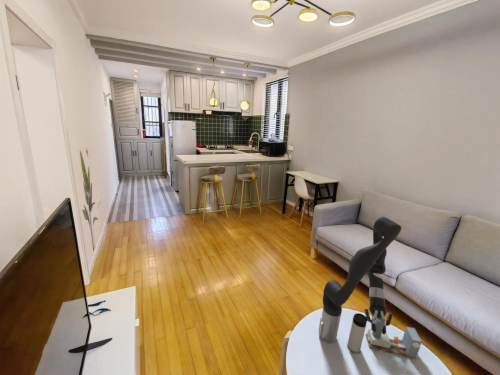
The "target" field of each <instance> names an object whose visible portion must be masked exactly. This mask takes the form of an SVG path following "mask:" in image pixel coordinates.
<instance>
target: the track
mask: <svg viewBox="0 0 500 375" xmlns="http://www.w3.org/2000/svg"><path fill="white" fill-rule="evenodd" d="M365 338H366V342H367V345H368V348H369V349H371V350H374V351H381V352H383V353H388V354H393V355H397V356H402V357H406V358H410V359H415V360H416V359H417V357H418V356H417V357H413V356H409V355H408V354H407V352H406V350H405V349H406V347H405V345H403V343H399V344H398V345H397V344H395V343H394V338H389V340H390V342H391V346H390V348H387V347H382V346H378V345H373V344H371V342H370V339H369V335H368V333H365Z"/></svg>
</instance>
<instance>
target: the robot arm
mask: <svg viewBox="0 0 500 375" xmlns="http://www.w3.org/2000/svg"><path fill="white" fill-rule="evenodd" d="M372 228H373V229H372V245H369V246H365V247H362V248H359V249H358V250H357V251H356V252H355V254H354V255H353V256H352V258H351V259H350V261H349V264H348V274H347V278H346V280H345V282H344V283H343V285H342V284H341V283H340V282H339V281H338V280H335V279H330V280H329V281H327V282H326V284H325V286H324V287H323V294H322V305H323V306H322V313H321V315H320V318H319V325H318V338H319V339H320V340H322V341H324V342H326V343H330V344H333V343H335V342H336V340H337V339H338V338H337V337H338V332H339V327H340V322H341V318H342V312H343V308H342V306H343V305H344V304H345V303H347V301H348V300H349V299H350V297H351V295H352V294H353V292H354V291H355V289H356V288H357V287H358V285H359V283H360V282H361V281H362V279H363V278H364V276H366V274H367V276H368V283H369V285H368V286H369V291H368V292H369V296H368V297H369V308H365V309H363V311H364V314H365V315H364V316H366V317H367V318H368V321H367V322H368V323H370V326H371V328H370V329H372V330H373V332H376V331H375V321H376V317H381V318H382V319H384V321H385V323H384V327H383V330H382V334H385V333H386V332H387V326H388V327H389V326H390V325H391V322H392V318H393V314H392V313H389V312H387V310H386V299H385V298H386V297H385V296H386V295H385V290H384V280H383V279H382V278H381V277H378V276H376V275H375V274H378V275H383V274H385V273H386V271H387V270H386V265H385V264H386V263H385V260H386V256H387V248H388V247H389V246H390V245H391V244H392V243H393V241H395V240H396V238H397V237H398V235H400V233H401V231H402V226H401V225H400V224H399V223H397V222H395V221H393V220H391V219H389V218H388V217H385V216H380V217H378V218H377V219H376V220H375V221H374V224H373V227H372ZM370 313H371V315H370ZM385 316H386V318H385Z"/></svg>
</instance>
